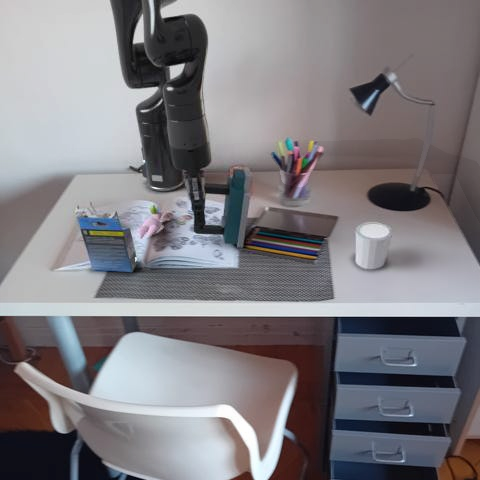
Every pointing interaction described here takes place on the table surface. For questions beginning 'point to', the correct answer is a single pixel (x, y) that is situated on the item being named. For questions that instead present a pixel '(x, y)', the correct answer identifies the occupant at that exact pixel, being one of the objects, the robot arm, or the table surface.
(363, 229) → the shot glass
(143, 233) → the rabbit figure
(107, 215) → the soldier figure
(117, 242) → the tape cartridge
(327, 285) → the table surface
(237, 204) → the iron
